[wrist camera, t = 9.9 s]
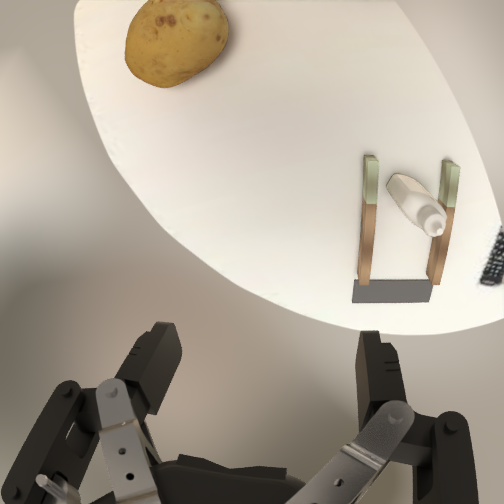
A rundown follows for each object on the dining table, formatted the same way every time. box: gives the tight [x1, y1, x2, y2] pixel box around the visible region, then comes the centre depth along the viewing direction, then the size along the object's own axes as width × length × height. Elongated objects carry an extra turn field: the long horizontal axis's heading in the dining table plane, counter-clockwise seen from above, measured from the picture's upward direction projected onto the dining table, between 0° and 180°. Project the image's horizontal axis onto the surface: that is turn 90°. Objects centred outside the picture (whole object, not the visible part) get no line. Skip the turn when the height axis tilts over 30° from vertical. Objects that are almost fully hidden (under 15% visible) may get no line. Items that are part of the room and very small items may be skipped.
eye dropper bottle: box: [387, 174, 447, 237], centre depth 31 cm, size 4×6×12 cm
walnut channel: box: [357, 155, 460, 285], centre depth 37 cm, size 16×11×3 cm
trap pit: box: [352, 280, 433, 303], centre depth 43 cm, size 4×12×1 cm, turn 95°
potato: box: [125, 0, 229, 88], centre depth 27 cm, size 10×12×10 cm
